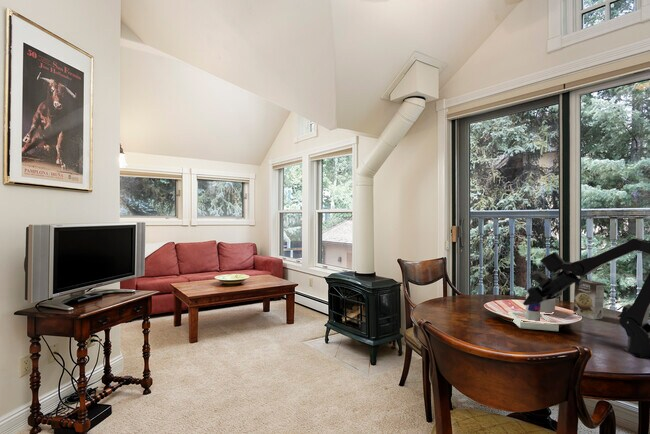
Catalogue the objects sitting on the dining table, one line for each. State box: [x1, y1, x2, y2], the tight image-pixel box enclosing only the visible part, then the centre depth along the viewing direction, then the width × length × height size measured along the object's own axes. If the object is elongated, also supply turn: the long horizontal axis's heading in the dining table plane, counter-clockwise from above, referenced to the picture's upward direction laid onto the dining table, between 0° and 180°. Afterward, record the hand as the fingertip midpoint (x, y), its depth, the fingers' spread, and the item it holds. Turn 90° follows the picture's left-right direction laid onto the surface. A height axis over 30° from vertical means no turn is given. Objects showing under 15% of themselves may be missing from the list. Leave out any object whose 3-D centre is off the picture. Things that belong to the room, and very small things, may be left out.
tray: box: [507, 311, 560, 332], centre depth 141 cm, size 14×14×2 cm
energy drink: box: [524, 292, 541, 321], centre depth 140 cm, size 5×5×12 cm
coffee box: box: [572, 278, 605, 320], centre depth 152 cm, size 9×6×16 cm
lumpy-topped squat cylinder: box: [540, 298, 556, 313], centre depth 159 cm, size 10×13×9 cm
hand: (529, 302), depth 141 cm, fingers open, 9 cm apart
